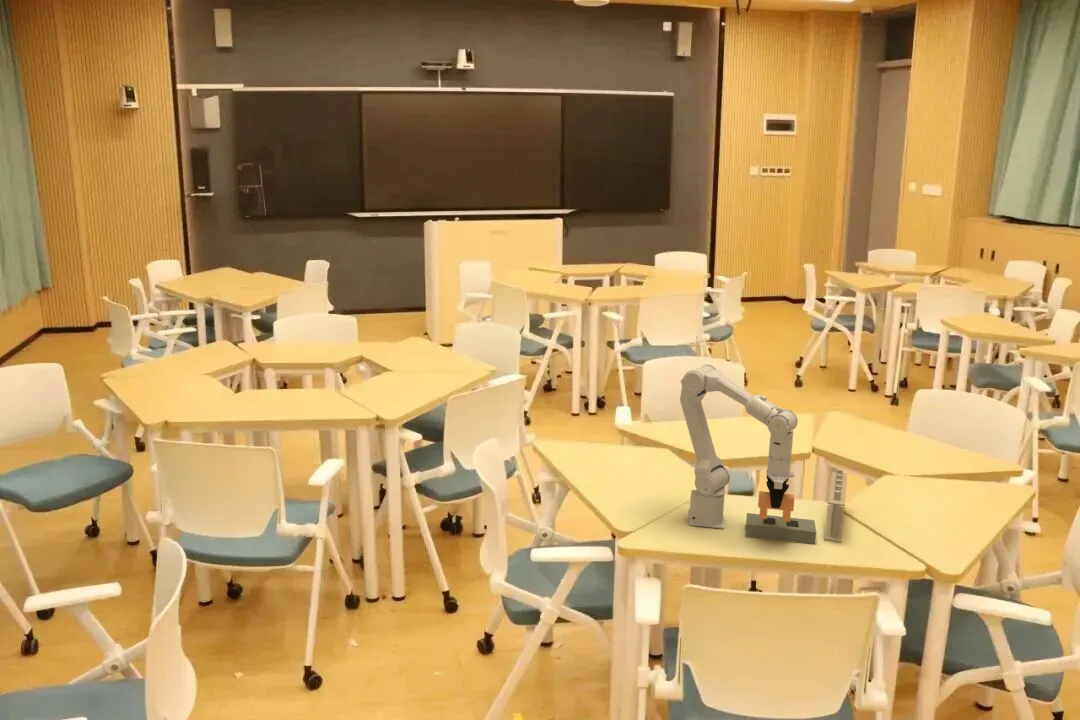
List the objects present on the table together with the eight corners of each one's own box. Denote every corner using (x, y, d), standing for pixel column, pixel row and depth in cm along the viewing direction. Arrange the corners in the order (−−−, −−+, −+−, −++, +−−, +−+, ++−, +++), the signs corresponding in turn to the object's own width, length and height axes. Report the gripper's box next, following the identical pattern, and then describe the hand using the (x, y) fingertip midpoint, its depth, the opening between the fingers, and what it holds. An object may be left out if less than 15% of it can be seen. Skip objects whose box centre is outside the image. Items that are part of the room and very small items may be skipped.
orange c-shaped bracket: (757, 518, 242) (759, 495, 240) (757, 513, 245) (759, 491, 243) (792, 522, 240) (794, 498, 238) (791, 517, 243) (794, 494, 241)
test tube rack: (841, 543, 243) (846, 497, 240) (823, 540, 245) (828, 494, 242) (843, 509, 266) (848, 466, 263) (827, 506, 268) (832, 464, 264)
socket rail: (745, 536, 246) (746, 524, 245) (745, 524, 253) (746, 512, 253) (815, 544, 242) (816, 532, 241) (813, 532, 250) (814, 520, 249)
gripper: (796, 467, 230) (791, 517, 234) (794, 449, 244) (790, 496, 247) (767, 464, 232) (763, 514, 235) (767, 446, 246) (763, 493, 249)
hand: (775, 505), depth 241 cm, fingers closed on orange c-shaped bracket, 3 cm apart
